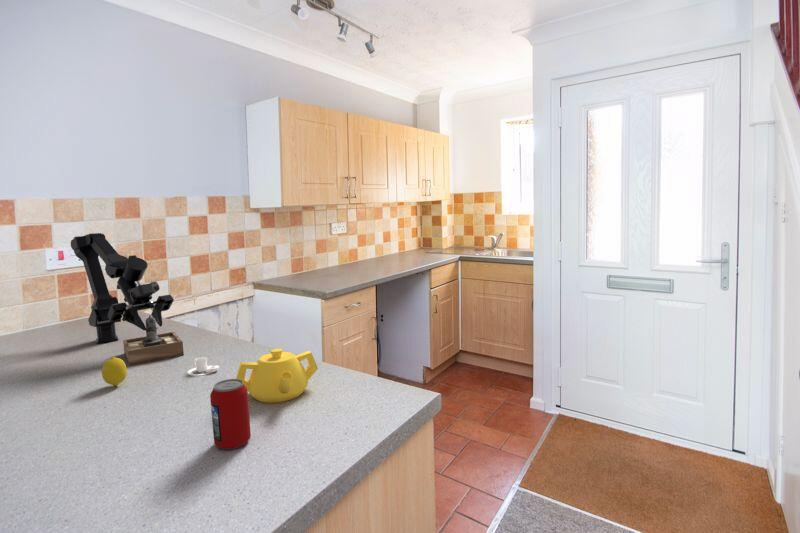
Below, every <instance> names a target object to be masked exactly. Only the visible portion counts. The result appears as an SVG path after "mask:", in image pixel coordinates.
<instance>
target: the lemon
mask: <svg viewBox="0 0 800 533" xmlns="http://www.w3.org/2000/svg"><path fill="white" fill-rule="evenodd" d="M127 373H128V369H127V365H126V362H125V361H124V360H123V359H121V358H120V357H119V358H118V357H116V356H111V358H109V359H106V360H105V361H104V363H103V365H102V369H101V377H102V379H103V381H104V383H106V384H108V385H110V386H114V387H118V386H119V384H120V383H123V381H124V380H126V378H127Z"/></svg>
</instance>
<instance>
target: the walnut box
mask: <svg viewBox="0 0 800 533" xmlns="http://www.w3.org/2000/svg"><path fill="white" fill-rule="evenodd" d="M157 336H158V337H159V338H162V343H161V345H156V346H150V347H144V345H143V343H142V341H143V340H145V339H146V336H139V337H136V338H129V339H127V338H126V339H123V340H122V343H123V352H124V356H125V358H126V361H127V363H128V366H130V367H131V366H135V365H139V364H145V363H149V362H156V361H160V360H161V361H162V360H165V359H170V358H176V357H177V358H178V357H180V356H184V343H183V342H184V341H183V340H182V339H181V338H180V337H179V336H178V335H177V334H176V332H175V331H171V332H165V333H157Z"/></svg>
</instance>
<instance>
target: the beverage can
mask: <svg viewBox="0 0 800 533" xmlns="http://www.w3.org/2000/svg"><path fill="white" fill-rule="evenodd" d="M212 387H213V388H212V390H211V392H210V395H209V397H210V410H211V412H210V413H211V422H212V423H211V424H212V434H213V442H214V445H215V446H216V447H217V448H220V449H222V450H234V449H238V448H240V447H242V446H243V445H245V444H246V443H248V441H249V440H250V439H251V436H252V434H251V420H250V405H249V394H248V393H249V392H248V391H247V388H246V386H245V385H244V384H243V381H242V380H240V379H236V378H230V379H229V378H228V379H224V380H223V379H222V380H221V381H218V382H216V383H215V384H213V386H212Z"/></svg>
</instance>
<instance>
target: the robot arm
mask: <svg viewBox="0 0 800 533" xmlns="http://www.w3.org/2000/svg"><path fill="white" fill-rule="evenodd" d="M70 247H71V249H72V250H73V253H74V256H75V257H77V258H78V259H79V260H80V261H81V262H82V263H83V266H84V269H85V273H86V276H87V280H88V284H89V286H90V289H91V293H92V297H93V302H92V304H91V307H90V309H91V311H90V312H91V313H90V314H89V317H88V324H89V326H91V327H95V328H96V329H95V330H96V336H97V337H96V338H95V341H96V344H102V343H103V344H104V343H108V342H114V341H119V337H118V335H117V331H116V323H121V321H122V322H128V323H129V324H132V325H134V326H135V327H137V328H138V329H140V330H142V331H146V324H145V322H143V319H142V318H141V316H140V315H139V311H145V310H150V309H151V313H150V315H151V317H152V318H155V321H156V323H157V324H156V325H158V326H159V327H160V328H161V327H162V326H163V318H162V312H165V311H168V310H170V308H171V306H172V305H173V302H174V301H175V299H174V297H173V296H172V294H165V295H159V296H158V297H157V298H156V300H154V301H150V300H152V299H153V296H152V295H154V294H156V293H158V291H160V289H161V288H160V285H159V283H158V281H155V280H154V281H151V282H149V283H144V284H141V283H140V281H141V280H142V279H143V277H144V275H145V273H146V270H147V268H148V262H147V261H146V260H145V259H143V258H140V257H137V255H136V254H135V255H134V254H133V255H132V254H131V255H128V257H127V256H125V255H122V254H119V253H118V251H117V250H116V249H115V248H114V247H113V245H111V243H110V242H109V241H108V240H107V238H106V235H105V234H104V233H101V232H96V233H88V234H85V235H80V236H79V235H78V236H74V237H73V239H71V240H70ZM99 257H100V259H101V260H102V261H103V263H104V264H105V265H104V266H105V268H104V270H105V273H106V275H107V276H108V277H109V278H110V279H118V280H117V282H116V283H117V285H116V290H120V291H121V293H122V294H123V297H124V299H123V302H119V301H118V298H117V296H112V295H111V294H110V292H109V288H108V284H107V282H106V278H105V275H104V271H103V269H102V265H101V263H100V259H99Z"/></svg>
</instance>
